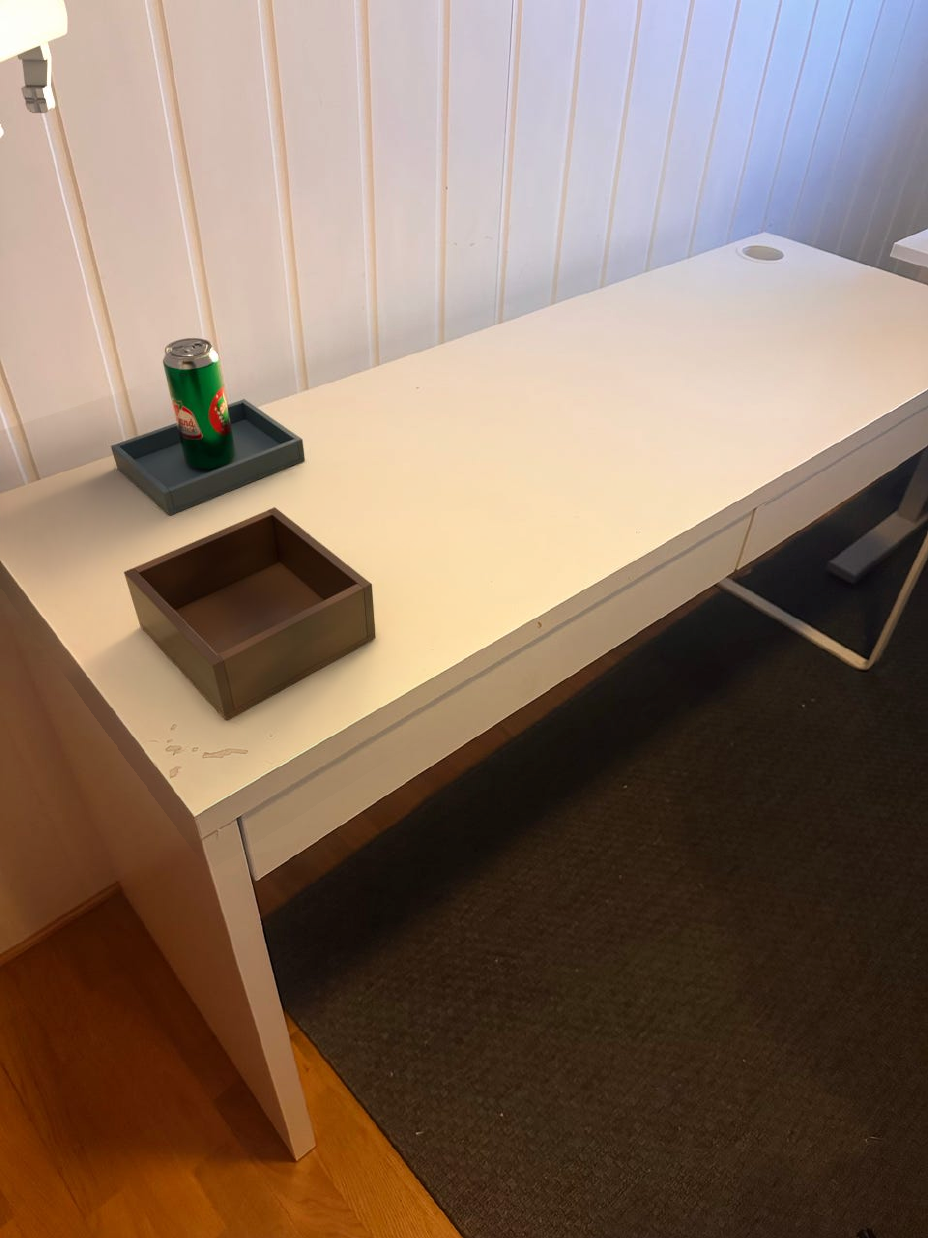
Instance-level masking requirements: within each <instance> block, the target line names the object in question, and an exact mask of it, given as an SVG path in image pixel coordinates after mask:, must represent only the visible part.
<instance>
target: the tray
mask: <svg viewBox="0 0 928 1238" xmlns="http://www.w3.org/2000/svg"><path fill="white" fill-rule="evenodd" d="M227 406H228V412H229V418H230V423H231V429H232V434H233V440H234V446H235V451H236V454H235V457H234V458H233V460H232V461H231V462H230V463H229V464H228V465H227V466H224V467H221V468H219V469H216V470H211V471H203V470H198V469H195V468H193V467H192V466H190V465H189V464H188V463H187V462H186V461H185V459H184V455H183V450H182V446H181V441H180V437H179V432H178V428H177V423H176V422H175V423H172V424H169V425H165V426H163V427H161V428H157V429H155V430H152V431H149V432H146V433H143V434H141V435H138V436H135V437H132V438H130V439H126V440H123V441H121V442H118V443H115V444H112V445H110V448H111V451H112V455H113V459H114V462H115V465H116V468H117V469H118V470H119V472H121V473H122V474H124V475H125V476H126V477H127V478H128V479H129V480H130V481H131V482H132V483H133V484H134V485H136V487H138V488H139V489H140V490H141V491H142V492H143V493H144V494H145V495H146V496H148V497H149V498H150V499H151V500H152V501H153V502H154V503H155V504H156V505H157V506H158V507H160V508H161V509H162V511H164V512H165V513H166V514H167V515H168V516H173V515H174V514H177V513H179V512H183V511H184V510H187V509H189V508H191V507H194V506H197V505H199V504H202V503H205V502H206V501H209V500H212V499H214V498H217V497H219V496H221V495H225V494H226V493H228V492H231V491H233V490H236V489H238V488H241V487H244V486H245V485H249V484H251V483H253V482H256V481H258V480H261V479H263V478H266V477H268V476H270V475H273V474H275V473H278V472H281V471H283V470H286V469H288V468H291V467H292V466H295V465H297V464H300V463H302V462H305V461H306V458H305V448H304V440H303V438H301V437H300V436H298V435H297V434H296V433H294V432H293V431H291V430H290V429H289V428H287V427H286V426H284V425H283V424H281V423H280V422H279V421H277V420H276V419H274V418H273V417H271V416H270V415H268V414H267V413H266V412H264V411H263V410H261V409H259V408H258V407H257V406H255V404H252V403H251V402H250V401H248V400H247V399H246V398H243V399H240V400H237V401H235V402H232V403H229V404H227Z"/></svg>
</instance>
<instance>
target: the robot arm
mask: <svg viewBox="0 0 928 1238" xmlns="http://www.w3.org/2000/svg"><path fill="white" fill-rule="evenodd" d="M67 33H68V12H67V7H66V4H65V1H64V0H0V63H3V62H5V61H7V60H9V59H13V58H14V57H17V59H18V60H21V64H22V72H23V81H24V85H23V87H21V88H20V89H21V92H22V95H23V99H24V101H25V107H26V109H27V110H28V112H30V113H32V114H47V113H49V112H50V111H52V110H53V109H55V108H56V101H55V98H54V94H53V93H54V92H53V89H52V86H51V84H52V54H51V51H50V47H49V42H52V41H55V40H56V39H59V38H61V37H62V36H65V35H67ZM3 137H4V130H3V128H2V126H1V125H0V140H1V139H3Z"/></svg>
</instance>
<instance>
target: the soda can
mask: <svg viewBox="0 0 928 1238" xmlns="http://www.w3.org/2000/svg"><path fill="white" fill-rule="evenodd" d="M162 364H163V369H164V374H165V377H166V382H167V387H168V391H169V396H170V400H171V404H172V409H173V414H174V418H175V423H177V428H178V432H179V437H180V441H181V446H182V450H183V455H184V459H185V461H186V462H187V463H188V464H189V465H190V466H192V467H193V468H195V469H198V470H203V471H211V470H216V469H219V468H221V467H224V466H227V465H228V464H229V463H230V462H231V461H232V460H233V458H234V457H235V454H236V451H235V446H234V440H233V434H232V429H231V423H230V418H229V412H228V406H227V405H228V401H227V396H226V395H227V394H226V390H225V385H224V380H223V379H224V378H223V373H222V368H221V363H220V357H219V353H218V352H217V351H216V350H215V349H214V346H213V344H212V342H211V341H209V340H207V339H204V338H198V337H187V338H181V339H177V340H173V341H172V342H170V343H168V344H167V345H166V347H164V357H163V359H162Z"/></svg>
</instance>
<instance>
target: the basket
mask: <svg viewBox="0 0 928 1238" xmlns="http://www.w3.org/2000/svg"><path fill="white" fill-rule="evenodd" d="M123 574H124V578H125V580H126V584H127V587H128V591H129V594H130V598H131V601H132V604H133V607H134V611H135V614H136V617H137V620H138V623H139V626H140V627H141V629H143V631H144V632H145V633H146V634H147V635H148V636H149V637H150V639H151V640H152V641H153V642H154V643H155V644H156V645H157V646H158V647H159V649H161V650H162V652H163V653H164V654H165V655H166V656H167V657H168V658H169V660H171V661H172V663H173V664H174V665H175V666H176V667H177V669H179V670H180V671H181V673H182V674H183V675H184V676H185V677H186V678H187V679H188V680H189V682H190V683H192V685H193V686H194V687H195V688H196V690H198V691H199V693H201V694H202V696H203V697H204V698H205V699H206V700H207V701H208V702H209V704H211V706H213V708H214V709H215V711H216V712H218V713H219V715H221V717H223V719H224V720H225V721H228V720H230V719H231V718H234V717H235V716H237V715H239V714H241V713H242V712H244V711H246V710H248V709H250V708H252V707H253V706H255V705H257V704H259V703H261V702H262V701H264V700H266V699H268V698H270V697H271V696H273V695H275V694H277V693H279V692H281V691H282V690H285V689H287V688H288V687H289V686H291V685H293V684H295V683H297V682H299V681H301V680H302V679H304V678H306V677H308V676H310V675H312V674H313V673H315V672H317V671H318V670H321V669H322V668H325V667H326V666H328V665H329V664H331V663H333V662H335V661H338V660H339V659H340V658H343V657H344V656H346V655H347V654H350V653H351V652H353V651H355V650H356V649H359V648H361V647H362V646H365V645H366V644H368V643H369V642H371V641H373V640H375V639H376V638H377V637H376V636H377V635H376V620H375V607H374V606H375V605H374V593H373V584H372V582H370V581H369V580H367V579H366V578H365V577H364V576H363V575H361V574H360V573H359V572H357V571H356V570H355V569H353V568H352V567H351V566H350V565H349V564H347V562H345V561H344V560H342V559H341V558H340V557H338V556H337V555H336V554H335V553H334V552H332V551H331V550H330V549H328V548H327V547H326V546H324V544H322V543H321V542H319V541H318V540H317V539H316V538H315V537H313V536H312V535H311V534H310V533H308V531H306V530H304V529H303V528H302V527H301V526H299V525H298V524H297V523H296V522H294V521H293V520H292V519H291V518H289V517H288V516H287V515H286V514H284V513H283V512H282V511H281V510H279V509H278V508H277V507H276V506H274V507H272V508H270V509H267V510H265V511H263V512H260V513H258V514H255V515H254V516H251V517H248V518H247V519H244V520H242V521H239V522H237V523H235V524H233V525H229V526H228V527H225V528H224V529H221V530H219V531H216V532H214V533H211V534H209V535H207V536H204V537H202V538H200V539H198V540H195V541H193V542H190V543H188V544H186V545H184V546H181V547H179V548H177V549H174V550H171V551H169V552H168V553H165V554H163V555H160V556H158V557H156V558H153V559H151V560H149V561H146V562H144V563H141V564H139V565H137V566H134V567H133V568H130V569H128V570H125V571H124V572H123Z"/></svg>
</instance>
